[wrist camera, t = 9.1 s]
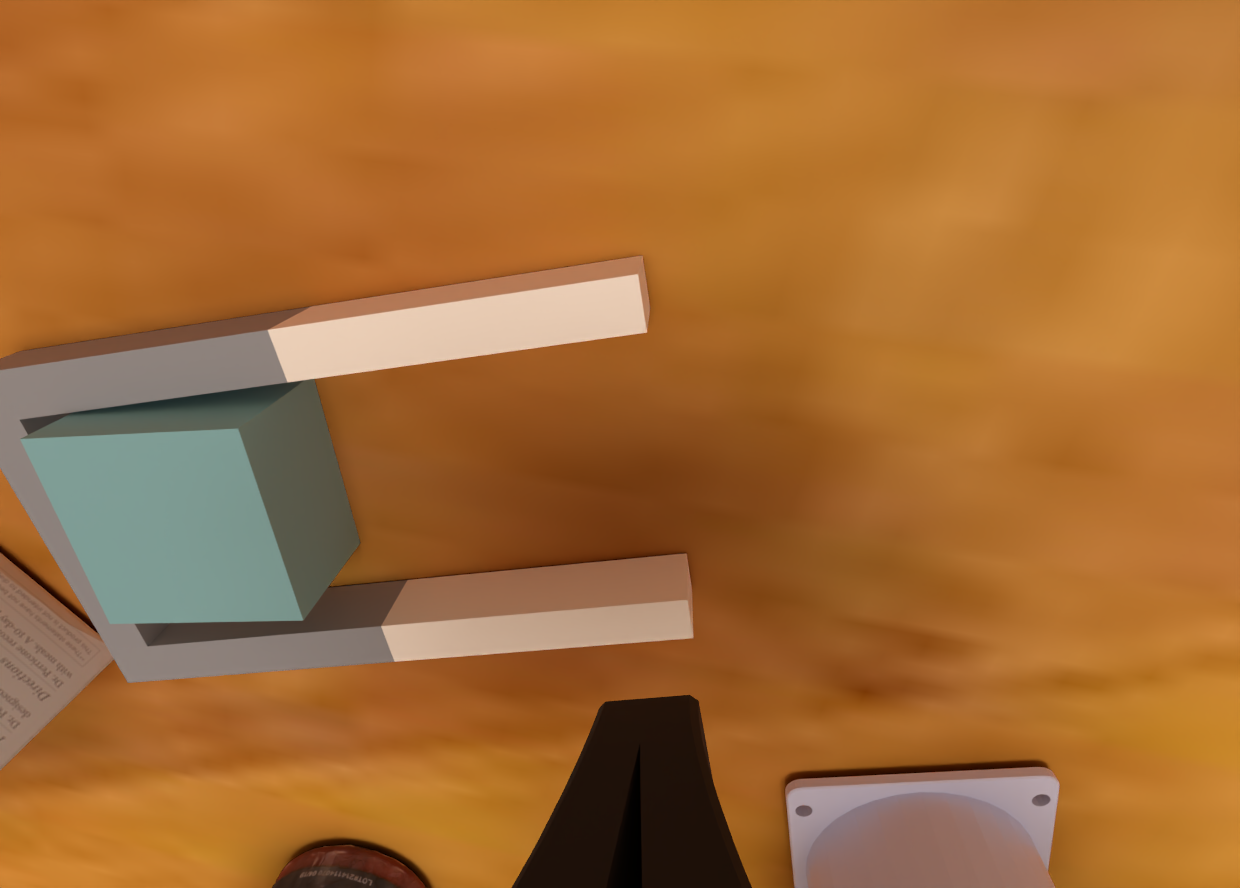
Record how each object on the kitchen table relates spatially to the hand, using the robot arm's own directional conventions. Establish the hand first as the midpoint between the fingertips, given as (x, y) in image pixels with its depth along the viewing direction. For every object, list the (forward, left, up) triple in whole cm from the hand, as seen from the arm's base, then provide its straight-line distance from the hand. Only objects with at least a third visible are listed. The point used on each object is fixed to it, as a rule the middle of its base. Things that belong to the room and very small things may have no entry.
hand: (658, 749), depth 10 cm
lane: (+1, +8, -9) cm, 12 cm away
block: (+2, +11, -9) cm, 14 cm away
